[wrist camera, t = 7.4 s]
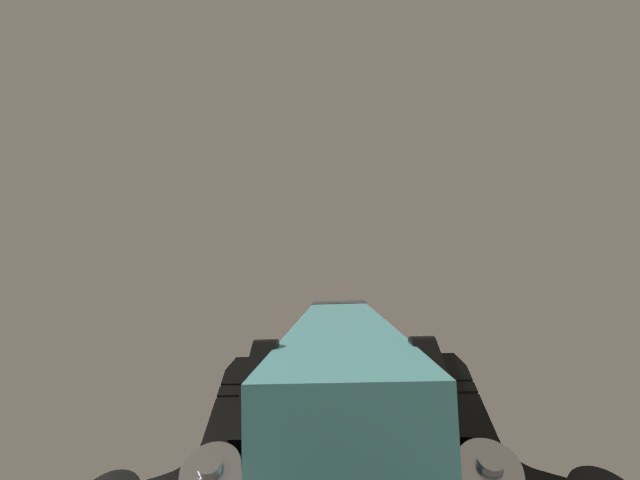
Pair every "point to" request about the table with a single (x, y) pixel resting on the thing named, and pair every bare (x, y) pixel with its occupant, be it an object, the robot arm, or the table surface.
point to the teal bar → (348, 404)
